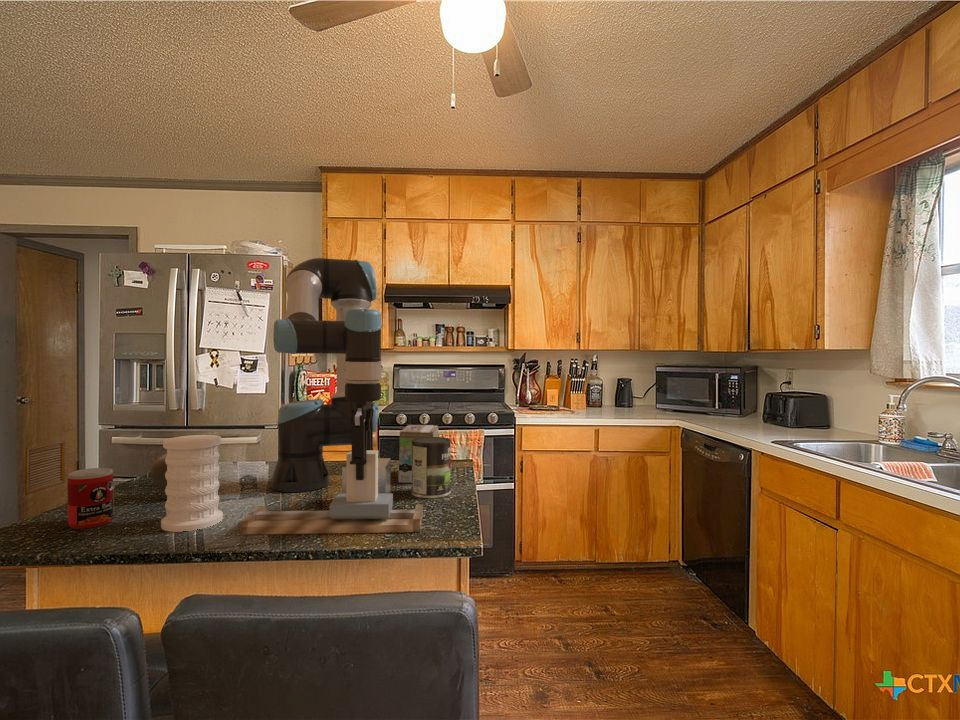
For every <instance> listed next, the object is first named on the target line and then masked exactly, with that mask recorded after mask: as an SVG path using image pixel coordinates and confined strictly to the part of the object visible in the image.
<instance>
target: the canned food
mask: <svg viewBox="0 0 960 720" xmlns="http://www.w3.org/2000/svg"><path fill="white" fill-rule="evenodd" d="M113 517H114V470H113V468H110V467H93V468H84V469H78V470H75V471H72V472H69V473H68V474H67V524H68V527H69V528H71V529H74V530H83V529H84V530H85V529H86V530H87V529H92V528H97V527H98V528H99V527H101V526H104V525H107V524H109V523H110V522H112V520H113Z"/></svg>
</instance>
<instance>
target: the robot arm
mask: <svg viewBox="0 0 960 720" xmlns="http://www.w3.org/2000/svg"><path fill="white" fill-rule="evenodd" d="M284 284H285V285H284V286H285V287H284V289H285V291H286V294H287V299H286V301H287V302H286V309H285V317H284V319H283V318H281V319H276V320H275V321H274V322H273V331H272V332H273V349H274V351H275V352H277V353H279V354H281V353H282V354H290V355H295V354H296V355H297V354H301V355H303V354H323V355H324V354H335V355H336V356H335V357H336V392H335V393H334V394H333V395H332V396H331V398H330V403H329V404H328V403H327V404H325V403H324V401H323V399H321V398H316V399H315V398H314V399H312V398H311V399H305V400H299V401H294V402H289V403H285V404H283V405H281V406H280V407H279V409H278V416H277V417H278V418H277V422H276V423H277V425H278V428H277V429H278V430H277V432H278V433H277V434H278V435H277V436H278V437H277V445H278V446H277V461H276V463H275V467H274V468H273V473H272V476H271V480H270V488H271V490H274V491H276V492H283V493H300V492H302V493H303V492H310V491H315V490H319V489H323V488H325V487H327V486H328V485H329V484H330V474H329V471H328V468H327V465H326V461H325V459H324V455H323V454H324V453H323V451H324V449H323V448H324V447H334V446H335V447H338V446H351V450H352V459H351V461H350V464H354V495H367V470H368V463H366V462H367V460H366V455H367V450H374V449H373V448H374V446H373V432H376V433H377V428H378V422H379V421H378V420H379V404H378V403H377V402H378V401H380V400H381V398H382V384H381V383H380V381H381V380H382V357H381V356H382V328H383V324H382V314H381V312H380V311H379V310H378V309H374V308H373V309H372V308H371V307H372V302H374V301H376V299H377V293H378V292H377V281H376V273H375V270H374V266H373V265H372V264H371V263H370V262H369V261H364V260H358V259H339V258H324V257H315V258H311V259H307V260H305V261H302V262H301V263H298V264H297V265H296V266H294V267H293V268H292V269H291V270H290V271H289V272H288V274H287V276H286V279H285V282H284ZM319 299H324V300H325V299H326V300H328V299H329V300H330V305H331V308H333V309H334V310H335V312H336V313H335V318H336V320H319ZM376 401H377V402H376Z"/></svg>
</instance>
